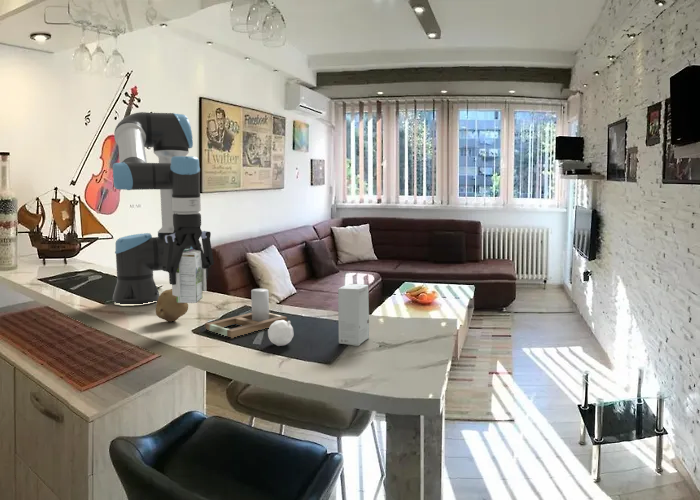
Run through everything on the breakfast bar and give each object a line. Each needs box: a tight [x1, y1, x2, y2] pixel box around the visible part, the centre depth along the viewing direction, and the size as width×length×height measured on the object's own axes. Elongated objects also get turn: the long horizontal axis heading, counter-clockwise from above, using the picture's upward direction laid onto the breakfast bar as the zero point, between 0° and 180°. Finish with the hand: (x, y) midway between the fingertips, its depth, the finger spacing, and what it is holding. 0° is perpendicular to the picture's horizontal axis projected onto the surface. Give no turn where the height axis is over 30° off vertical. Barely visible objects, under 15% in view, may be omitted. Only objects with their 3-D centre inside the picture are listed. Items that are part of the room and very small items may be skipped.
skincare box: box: [337, 283, 370, 347], centre depth 145 cm, size 8×6×15 cm
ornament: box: [267, 320, 295, 347], centre depth 142 cm, size 6×7×7 cm
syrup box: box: [177, 249, 203, 304], centre depth 155 cm, size 6×6×14 cm
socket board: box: [205, 312, 288, 339], centre depth 159 cm, size 12×20×2 cm, turn 139°
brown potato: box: [155, 288, 189, 323], centre depth 164 cm, size 9×9×10 cm
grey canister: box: [250, 288, 270, 322], centre depth 162 cm, size 5×5×10 cm
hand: (189, 292), depth 156 cm, fingers closed on syrup box, 8 cm apart
